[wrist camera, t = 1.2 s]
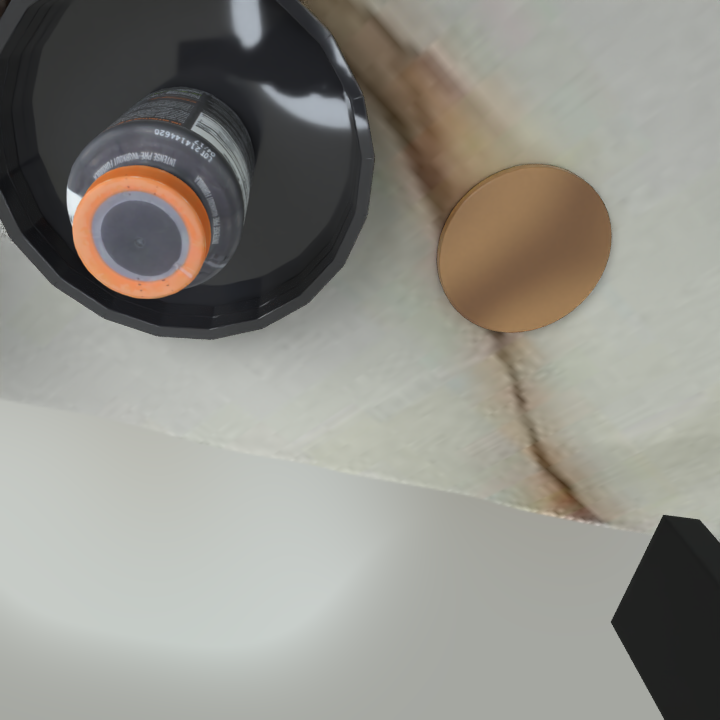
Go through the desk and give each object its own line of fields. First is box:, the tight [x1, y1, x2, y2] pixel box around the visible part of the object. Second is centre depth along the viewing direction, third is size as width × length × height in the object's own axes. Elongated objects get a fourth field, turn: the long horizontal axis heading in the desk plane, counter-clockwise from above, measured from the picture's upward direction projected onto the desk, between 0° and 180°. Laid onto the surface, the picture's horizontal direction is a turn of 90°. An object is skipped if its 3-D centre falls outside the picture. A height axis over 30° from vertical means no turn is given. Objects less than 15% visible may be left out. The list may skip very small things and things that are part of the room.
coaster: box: [437, 164, 612, 333], centre depth 33 cm, size 9×9×1 cm
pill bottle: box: [67, 87, 255, 299], centre depth 24 cm, size 6×6×11 cm
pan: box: [0, 0, 375, 340], centre depth 28 cm, size 16×16×3 cm
